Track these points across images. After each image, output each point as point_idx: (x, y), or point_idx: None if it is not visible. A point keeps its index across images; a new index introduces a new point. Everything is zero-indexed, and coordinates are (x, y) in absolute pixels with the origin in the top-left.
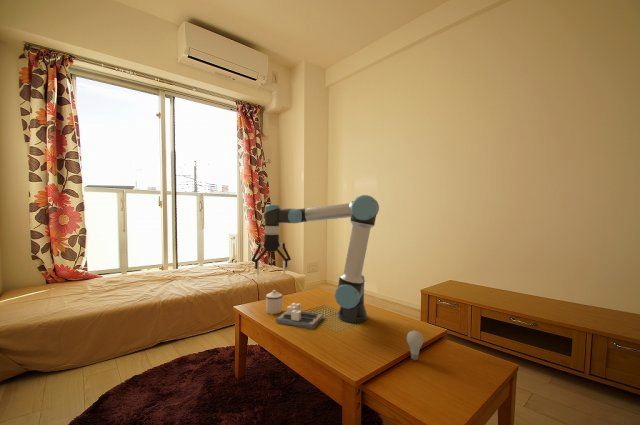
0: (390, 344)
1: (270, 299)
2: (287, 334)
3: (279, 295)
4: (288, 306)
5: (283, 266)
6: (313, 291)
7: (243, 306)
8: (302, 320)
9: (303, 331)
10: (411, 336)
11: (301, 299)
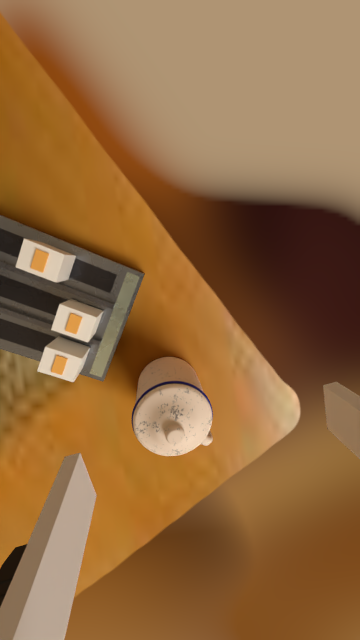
0: None
1: (185, 382)
2: (81, 155)
3: (143, 411)
4: (90, 328)
5: (64, 560)
6: None
7: (284, 423)
8: None
9: (19, 183)
10: None
11: None
